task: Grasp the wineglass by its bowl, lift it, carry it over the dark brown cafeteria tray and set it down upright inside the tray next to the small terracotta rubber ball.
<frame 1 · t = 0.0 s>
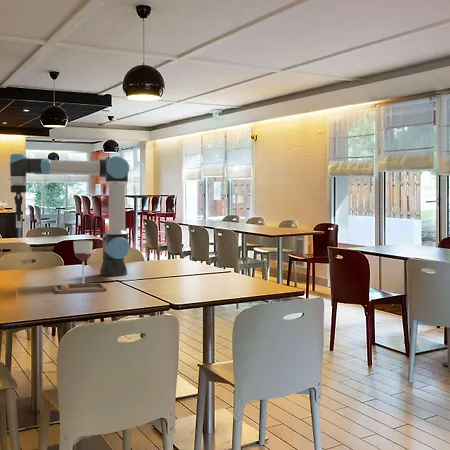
hand: (19, 227, 290), 28 cm above the table, fingers open, 13 cm apart
wineglass: (83, 286, 279), on the table
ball: (64, 291, 259), point 1 cm above the table, touching tray
tray: (79, 291, 265), on the table
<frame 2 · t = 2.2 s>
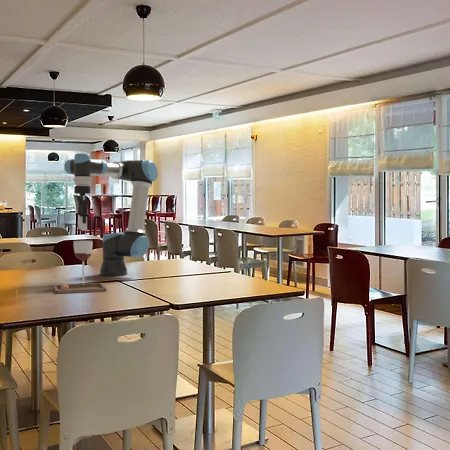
hand: (82, 229, 278), 28 cm above the table, fingers open, 13 cm apart
nothing on the table moved.
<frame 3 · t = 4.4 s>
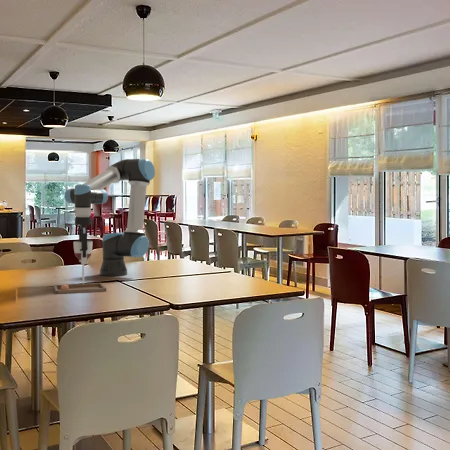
hand: (83, 263, 279), 11 cm above the table, fingers closed on wineglass, 9 cm apart
wineglass: (83, 286, 279), on the table, touching gripper
everything else where it was.
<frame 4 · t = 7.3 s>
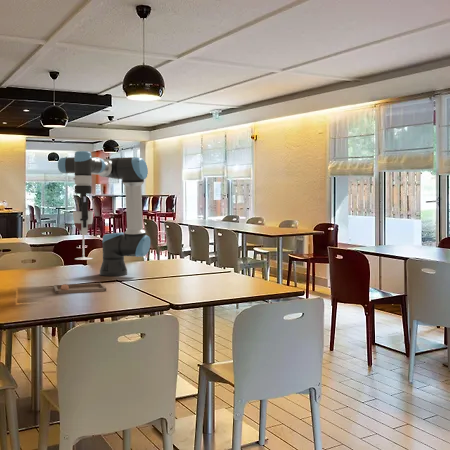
hand: (83, 234, 265), 26 cm above the table, fingers closed on wineglass, 9 cm apart
wineglass: (83, 259, 266), point 15 cm above the table, touching gripper
everything else where it was.
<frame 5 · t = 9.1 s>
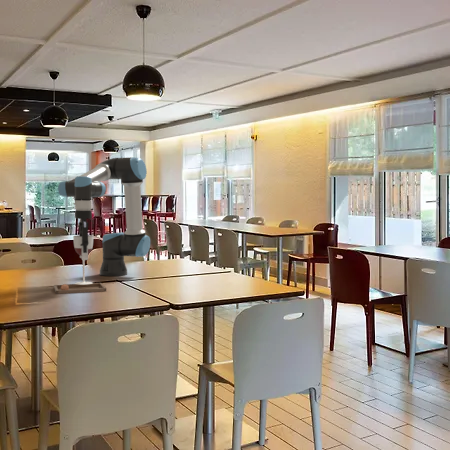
hand: (83, 258, 266), 15 cm above the table, fingers closed on wineglass, 9 cm apart
wineglass: (83, 283, 267), point 3 cm above the table, touching gripper
everything else where it was.
when the fingers open (14 cm above the table, at t = 10.3 s): wineglass drops 2 cm, resting on tray.
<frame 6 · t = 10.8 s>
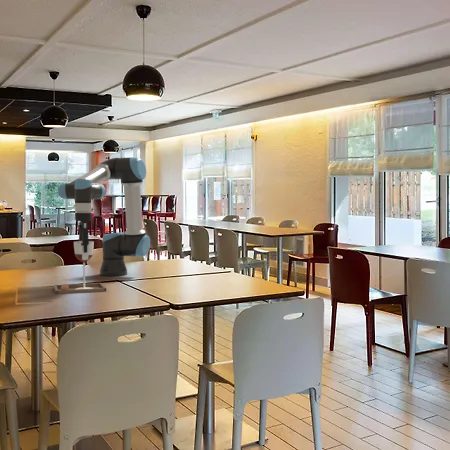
hand: (83, 258, 266), 15 cm above the table, fingers open, 13 cm apart
wineglass: (84, 289, 267), point 1 cm above the table, touching tray
everything else where it was.
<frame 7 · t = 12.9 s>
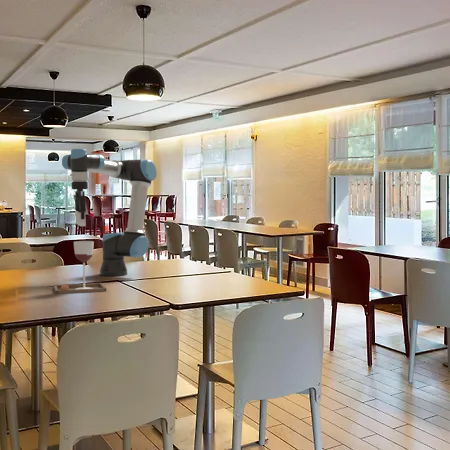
hand: (80, 225, 278), 30 cm above the table, fingers open, 13 cm apart
nothing on the table moved.
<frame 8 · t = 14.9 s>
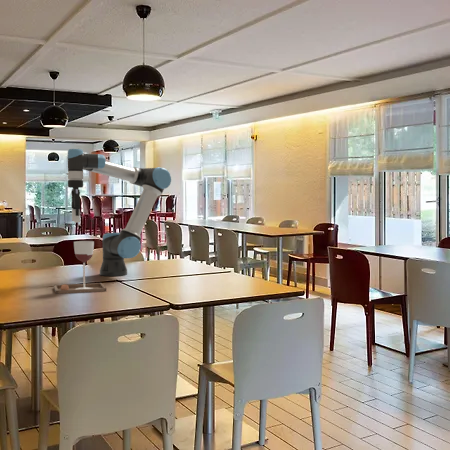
hand: (75, 221, 291), 31 cm above the table, fingers open, 13 cm apart
nothing on the table moved.
at the end: wineglass inside the target area on the tray (2.6 cm from its centre), point 0.6 cm above the tray's base; wineglass tilted 0°; the gripper is holding nothing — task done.
